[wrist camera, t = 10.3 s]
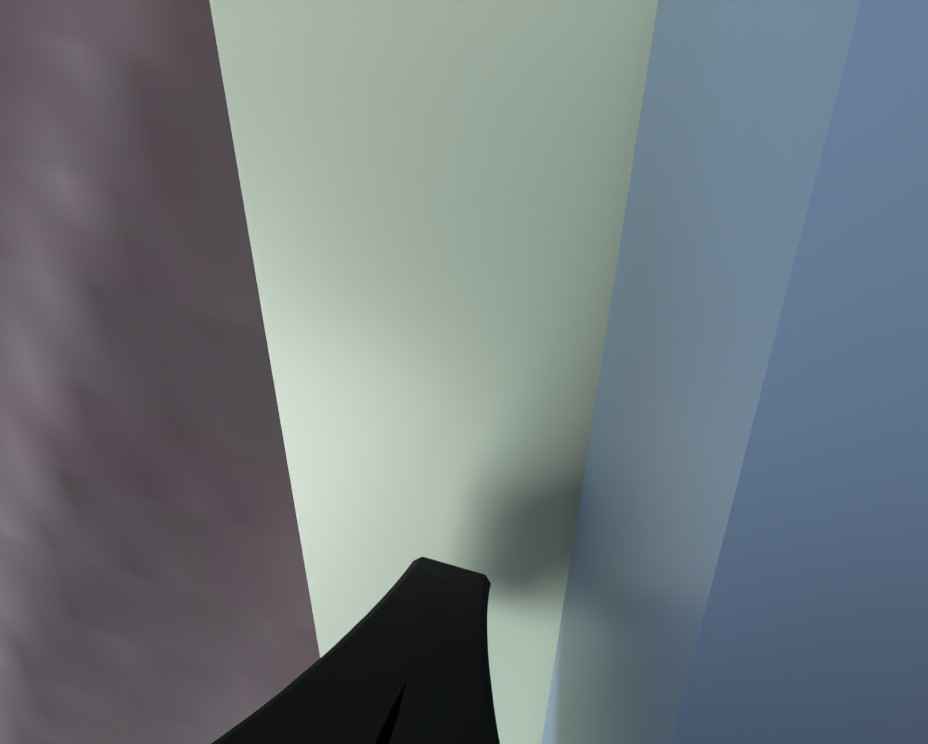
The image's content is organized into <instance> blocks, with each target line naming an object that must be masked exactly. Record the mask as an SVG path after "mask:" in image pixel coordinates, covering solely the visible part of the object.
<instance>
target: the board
mask: <svg viewBox="0 0 928 744" xmlns="http://www.w3.org/2000/svg"><path fill="white" fill-rule="evenodd" d="M209 1H210V7H211V13H212V18H213V24H214V30H215V36H216V42H217V48H218V54H219V60H220V66H221V72H222V78H223V84H224V90H225V95H226V101H227V107H228V113H229V119H230V125H231V131H232V137H233V143H234V149H235V155H236V161H237V167H238V172H239V178H240V184H241V190H242V196H243V202H244V208H245V214H246V220H247V226H248V232H249V238H250V244H251V249H252V255H253V261H254V267H255V273H256V279H257V285H258V291H259V297H260V303H261V309H262V315H263V320H264V326H265V332H266V338H267V344H268V350H269V356H270V362H271V368H272V374H273V380H274V386H275V392H276V397H277V403H278V409H279V415H280V421H281V427H282V433H283V439H284V445H285V451H286V457H287V463H288V469H289V474H290V480H291V486H292V492H293V498H294V504H295V510H296V516H297V522H298V528H299V534H300V540H301V546H302V551H303V557H304V563H305V569H306V575H307V581H308V587H309V593H310V599H311V605H312V611H313V617H314V623H315V628H316V634H317V640H318V646H319V652H320V658H321V657H322V656H324V655H325V654H326V653H327V652H328V651H329V650H330V649H331V648H332V647H333V646H335V645H336V644H337V643H338V642H339V641H340V640H341V639H342V638H343V637H344V636H345V635H346V634H347V633H348V632H349V631H350V630H351V629H352V628H353V627H354V626H355V625H356V624H357V623H358V622H359V621H360V620H361V619H363V618H364V617H365V616H366V615H367V614H368V613H369V612H370V610H371V609H372V608H373V607H374V606H375V605H376V604H377V603H378V602H379V601H380V600H381V599H382V598H383V597H384V596H385V595H386V593H387V592H388V591H389V590H390V589H391V588H392V587H393V586H394V584H395V583H396V582H397V581H398V580H399V579H400V577H401V576H402V575H403V574H404V572H405V571H406V570H407V569H408V567H409V566H410V565H411V563H412V562H413V561H414V560H416V559H418V558H420V557H426V558H429V559H433V560H436V561H440V562H443V563H447V564H450V565H454V566H457V567H461V568H464V569H468V570H471V571H475V572H478V573H482V574H485V575H486V576H487V578H488V579H489V581H490V583H491V586H490V590H489V598H488V610H487V636H488V656H489V669H490V677H491V686H492V694H493V703H494V711H495V717H496V724H497V730H498V736H499V741H500V744H542V737H543V731H544V725H545V718H546V712H547V706H548V699H549V693H550V687H551V680H552V674H553V667H554V661H555V655H556V648H557V642H558V636H559V629H560V623H561V617H562V610H563V604H564V597H565V591H566V585H567V578H568V572H569V566H570V559H571V553H572V547H573V540H574V534H575V527H576V521H577V515H578V508H579V502H580V496H581V489H582V483H583V477H584V470H585V464H586V457H587V451H588V445H589V438H590V432H591V426H592V419H593V413H594V407H595V400H596V394H597V387H598V381H599V375H600V368H601V362H602V356H603V349H604V343H605V337H606V330H607V324H608V317H609V311H610V305H611V298H612V292H613V286H614V279H615V273H616V267H617V260H618V254H619V247H620V241H621V235H622V228H623V222H624V216H625V209H626V203H627V197H628V190H629V184H630V177H631V171H632V165H633V158H634V152H635V146H636V139H637V133H638V127H639V120H640V114H641V107H642V101H643V95H644V88H645V82H646V76H647V69H648V63H649V57H650V50H651V44H652V37H653V31H654V25H655V18H656V12H657V6H658V0H209Z"/></svg>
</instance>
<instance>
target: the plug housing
mask: <svg viewBox="0 0 928 744" xmlns="http://www.w3.org/2000/svg"><path fill="white" fill-rule="evenodd" d="M542 744H928V0H658V6H657V12H656V18H655V25H654V31H653V37H652V44H651V50H650V57H649V63H648V69H647V76H646V82H645V88H644V95H643V101H642V107H641V114H640V120H639V127H638V133H637V139H636V146H635V152H634V158H633V165H632V171H631V177H630V184H629V190H628V197H627V203H626V209H625V216H624V222H623V228H622V235H621V241H620V247H619V254H618V260H617V267H616V273H615V279H614V286H613V292H612V298H611V305H610V311H609V317H608V324H607V330H606V337H605V343H604V349H603V356H602V362H601V368H600V375H599V381H598V387H597V394H596V400H595V407H594V413H593V419H592V426H591V432H590V438H589V445H588V451H587V457H586V464H585V470H584V477H583V483H582V489H581V496H580V502H579V508H578V515H577V521H576V527H575V534H574V540H573V547H572V553H571V559H570V566H569V572H568V578H567V585H566V591H565V597H564V604H563V610H562V617H561V623H560V629H559V636H558V642H557V648H556V655H555V661H554V667H553V674H552V680H551V687H550V693H549V699H548V706H547V712H546V718H545V725H544V731H543V737H542Z"/></svg>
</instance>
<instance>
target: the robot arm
mask: <svg viewBox="0 0 928 744" xmlns="http://www.w3.org/2000/svg"><path fill="white" fill-rule="evenodd" d="M490 586H491V583H490V581H489V579H488V578H487V576H486V575H485V574H482V573H478V572H475V571H471V570H468V569H464V568H461V567H457V566H454V565H450V564H447V563H443V562H440V561H436V560H433V559H429V558H426V557H420V558H418V559H416V560H414V561H413V562H412V563H411V565H410V566H409V567H408V569H407V570H406V571H405V572H404V574H403V575H402V576H401V577H400V579H399V580H398V581H397V582H396V583H395V584H394V586H393V587H392V588H391V589H390V590H389V591H388V592H387V593H386V595H385V596H384V597H383V598H382V599H381V600H380V601H379V602H378V603H377V604H376V605H375V606H374V607H373V608H372V609H371V610H370V612H369V613H368V614H367V615H366V616H365V617H364V618H363V619H361V620H360V621H359V622H358V623H357V624H356V625H355V626H354V627H353V628H352V629H351V630H350V631H349V632H348V633H347V634H346V635H345V636H344V637H343V638H342V639H341V640H340V641H339V642H338V643H337V644H336V645H335V646H333V647H332V648H331V649H330V650H329V651H328V652H327V653H326V654H325V655H324V656H322V657H321V658H320V659H319V660H318V661H317V662H315V663H314V664H313V665H312V666H311V667H310V668H308V669H307V670H306V671H305V672H304V673H302V674H301V675H300V676H299V677H298V678H297V679H295V680H294V681H293V682H292V683H291V684H290V685H288V686H287V687H286V688H285V689H284V690H283V691H281V692H280V693H279V694H278V695H276V696H275V697H274V698H272V699H271V700H270V701H269V702H267V703H266V704H265V705H264V706H262V707H261V708H260V709H258V710H257V711H256V712H254V713H253V714H252V715H250V716H249V717H248V718H246V719H245V720H244V721H242V722H241V723H240V724H238V725H237V726H235V727H234V728H233V729H231V730H230V731H228V732H227V733H226V734H224V735H223V736H221V737H220V738H219V739H217V740H216V741H214V742H213V743H212V744H500V741H499V736H498V730H497V724H496V717H495V711H494V703H493V694H492V686H491V677H490V669H489V656H488V636H487V610H488V598H489V590H490Z"/></svg>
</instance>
